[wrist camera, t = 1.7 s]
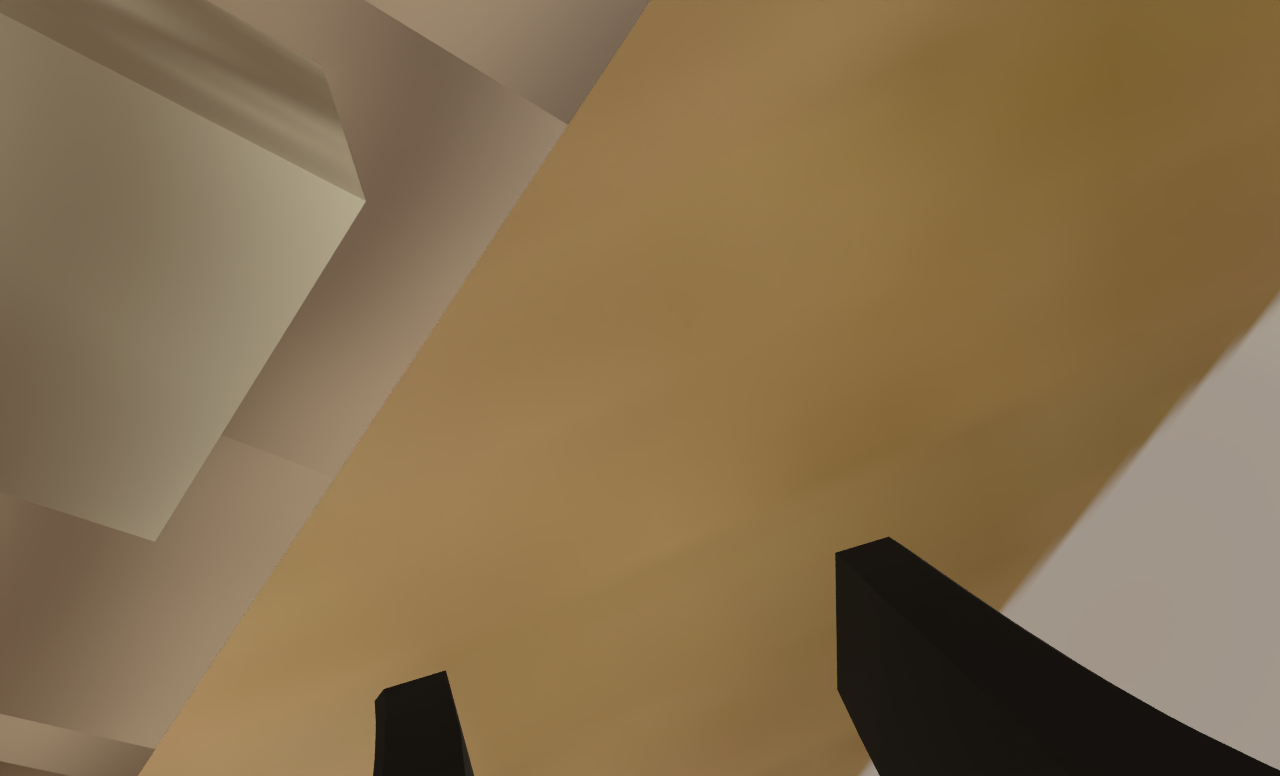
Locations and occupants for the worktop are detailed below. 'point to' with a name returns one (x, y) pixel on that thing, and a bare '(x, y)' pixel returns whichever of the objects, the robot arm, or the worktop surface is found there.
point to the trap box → (295, 363)
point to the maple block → (150, 240)
